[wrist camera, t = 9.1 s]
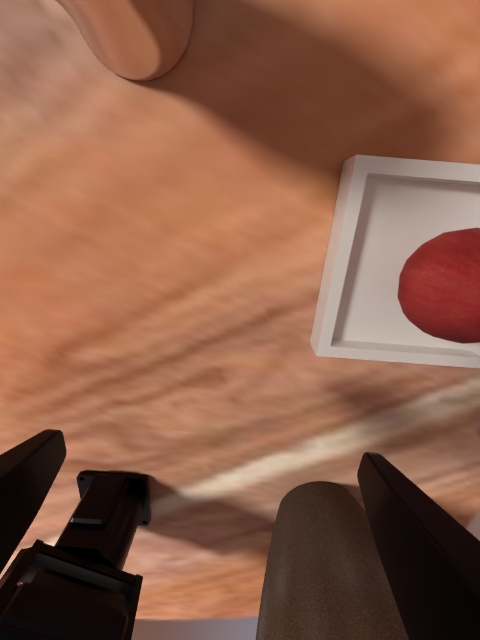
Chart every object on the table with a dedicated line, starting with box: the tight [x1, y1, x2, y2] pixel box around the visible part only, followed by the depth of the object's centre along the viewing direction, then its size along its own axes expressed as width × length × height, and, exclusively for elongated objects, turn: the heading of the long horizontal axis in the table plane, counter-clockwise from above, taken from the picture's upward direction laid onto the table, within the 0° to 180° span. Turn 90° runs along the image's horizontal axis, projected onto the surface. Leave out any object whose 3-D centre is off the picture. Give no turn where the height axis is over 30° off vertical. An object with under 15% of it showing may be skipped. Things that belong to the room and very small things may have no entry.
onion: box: [398, 228, 480, 344], centre depth 14 cm, size 6×6×8 cm
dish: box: [310, 154, 480, 368], centre depth 18 cm, size 12×12×2 cm
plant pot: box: [256, 482, 409, 640], centre depth 20 cm, size 15×15×16 cm
